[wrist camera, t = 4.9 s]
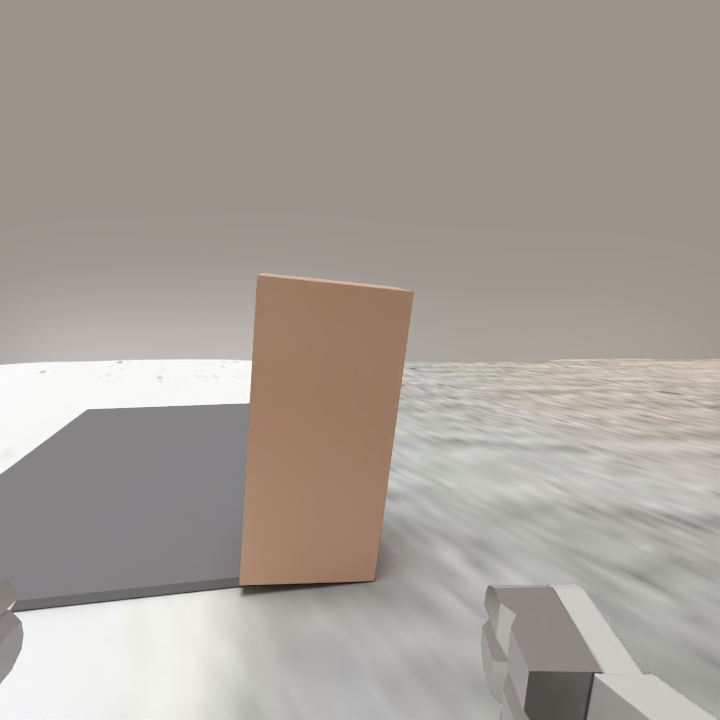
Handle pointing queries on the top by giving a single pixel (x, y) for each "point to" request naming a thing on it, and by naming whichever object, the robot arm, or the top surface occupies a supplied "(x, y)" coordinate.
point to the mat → (127, 506)
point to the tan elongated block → (320, 427)
